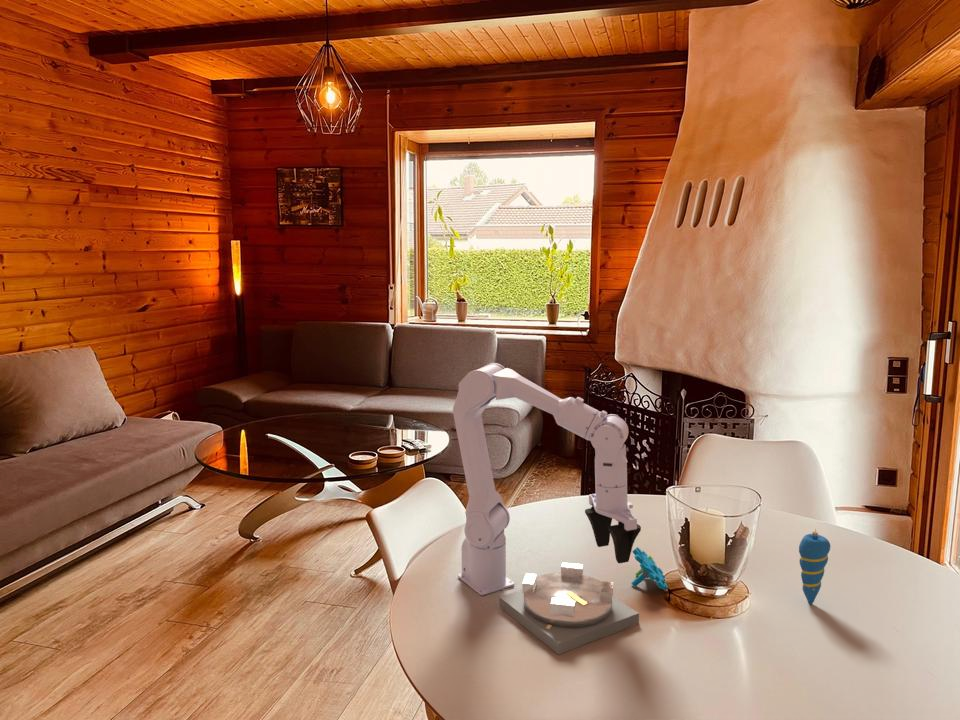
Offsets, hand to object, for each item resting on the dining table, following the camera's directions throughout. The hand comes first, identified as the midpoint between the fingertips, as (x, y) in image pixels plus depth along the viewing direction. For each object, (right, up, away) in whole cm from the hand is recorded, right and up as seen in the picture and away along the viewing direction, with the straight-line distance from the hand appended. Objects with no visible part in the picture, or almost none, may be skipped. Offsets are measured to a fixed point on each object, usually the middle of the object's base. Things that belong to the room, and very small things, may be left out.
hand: (612, 553), depth 127 cm
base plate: (-9, -11, -1) cm, 14 cm away
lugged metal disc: (-9, -9, -2) cm, 12 cm away
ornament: (+37, -10, +2) cm, 39 cm away
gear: (+9, -9, +9) cm, 16 cm away
